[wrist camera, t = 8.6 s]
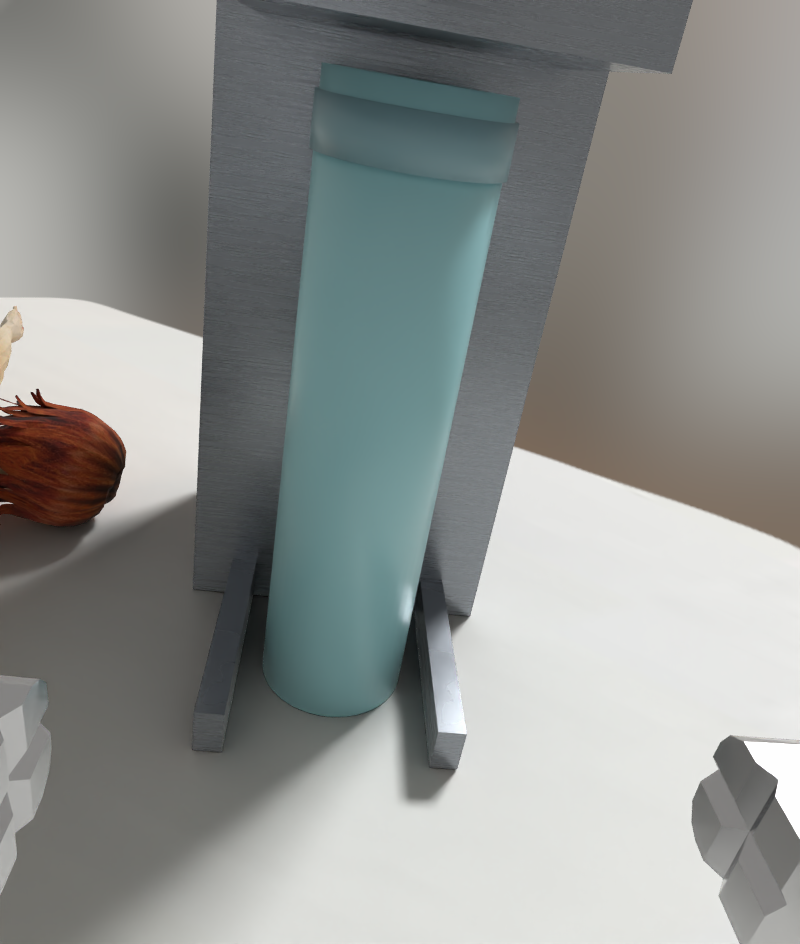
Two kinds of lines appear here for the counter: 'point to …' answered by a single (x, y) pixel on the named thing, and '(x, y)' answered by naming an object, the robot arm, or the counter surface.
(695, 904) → the counter surface
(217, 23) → the housing
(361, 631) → the cartridge
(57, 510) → the figurine
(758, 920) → the robot arm
